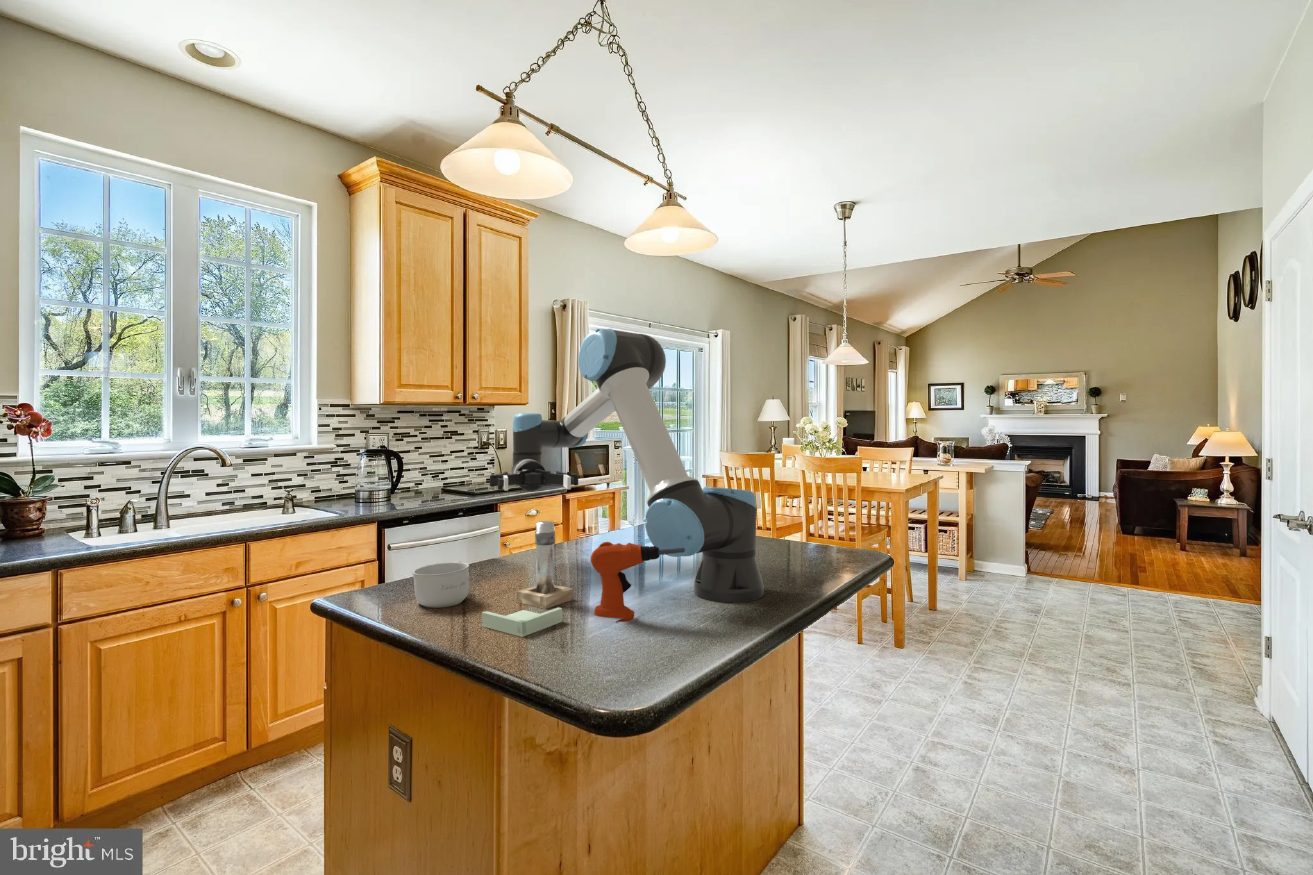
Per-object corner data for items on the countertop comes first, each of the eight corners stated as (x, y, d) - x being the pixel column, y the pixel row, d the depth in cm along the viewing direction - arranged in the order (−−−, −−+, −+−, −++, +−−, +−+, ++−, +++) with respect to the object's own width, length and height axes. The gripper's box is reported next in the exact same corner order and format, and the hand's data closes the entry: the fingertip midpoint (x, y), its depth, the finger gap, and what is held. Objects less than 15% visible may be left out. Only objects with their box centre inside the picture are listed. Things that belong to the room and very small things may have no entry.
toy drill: (691, 617, 114) (681, 536, 114) (592, 625, 116) (582, 546, 116) (693, 609, 118) (684, 531, 118) (598, 617, 121) (588, 541, 121)
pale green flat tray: (562, 625, 113) (562, 608, 113) (522, 641, 105) (521, 622, 105) (523, 616, 119) (523, 599, 119) (482, 630, 111) (482, 612, 111)
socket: (572, 602, 128) (573, 588, 128) (545, 612, 121) (545, 597, 121) (544, 596, 132) (544, 582, 132) (516, 605, 126) (516, 591, 126)
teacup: (446, 616, 119) (446, 574, 118) (400, 610, 122) (400, 570, 122) (488, 597, 132) (488, 559, 132) (446, 592, 135) (446, 556, 135)
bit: (559, 599, 127) (559, 522, 127) (545, 604, 124) (545, 524, 124) (544, 596, 129) (544, 520, 129) (530, 601, 126) (531, 522, 126)
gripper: (579, 488, 160) (594, 499, 140) (478, 490, 153) (479, 502, 133) (579, 459, 160) (594, 466, 140) (478, 460, 153) (479, 467, 133)
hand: (538, 483), depth 136 cm, fingers open, 13 cm apart
